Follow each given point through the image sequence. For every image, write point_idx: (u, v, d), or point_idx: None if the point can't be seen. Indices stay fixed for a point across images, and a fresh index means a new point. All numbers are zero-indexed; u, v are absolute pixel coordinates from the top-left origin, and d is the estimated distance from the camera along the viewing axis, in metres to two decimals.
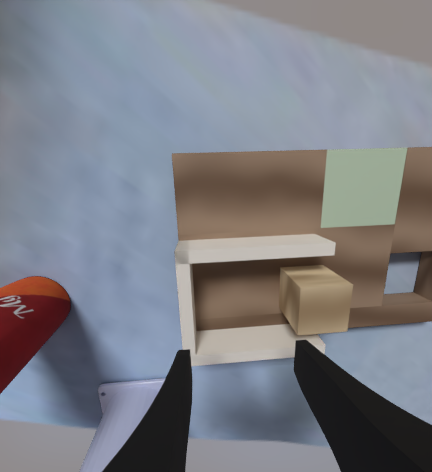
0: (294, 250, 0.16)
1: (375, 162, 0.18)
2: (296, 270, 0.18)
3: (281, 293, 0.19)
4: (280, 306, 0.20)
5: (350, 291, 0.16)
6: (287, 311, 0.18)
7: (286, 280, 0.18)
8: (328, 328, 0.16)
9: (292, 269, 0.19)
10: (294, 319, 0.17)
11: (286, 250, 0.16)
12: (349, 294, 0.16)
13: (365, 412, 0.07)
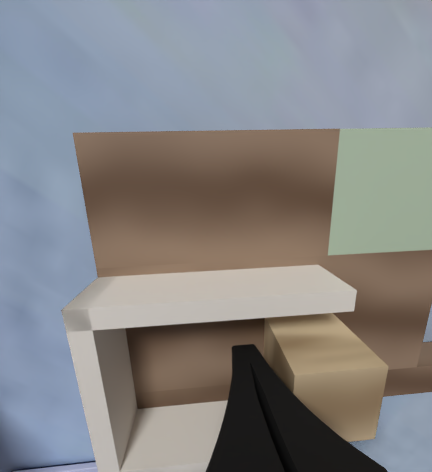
0: (283, 304, 0.09)
1: (418, 151, 0.11)
2: (289, 324, 0.11)
3: (266, 355, 0.12)
4: None
5: (383, 377, 0.09)
6: None
7: (272, 342, 0.11)
8: (342, 436, 0.09)
9: (283, 321, 0.12)
10: None
11: (269, 304, 0.09)
12: (380, 382, 0.09)
13: (280, 421, 0.07)
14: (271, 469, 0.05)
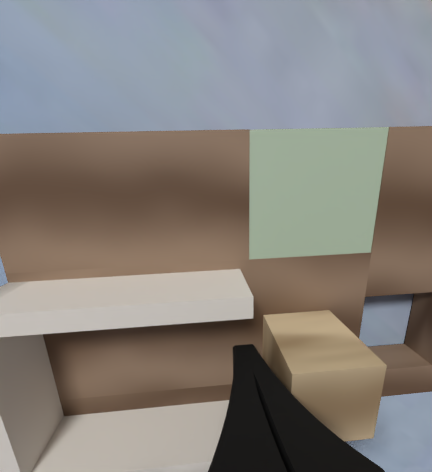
0: (176, 311, 0.09)
1: (335, 152, 0.10)
2: (287, 324, 0.11)
3: (264, 355, 0.12)
4: None
5: (381, 376, 0.09)
6: None
7: (271, 341, 0.11)
8: (340, 435, 0.09)
9: (281, 320, 0.12)
10: None
11: (161, 312, 0.08)
12: (378, 381, 0.09)
13: (278, 421, 0.07)
14: (273, 468, 0.05)
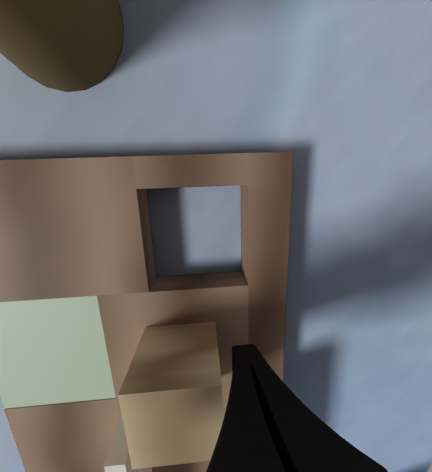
0: None
1: (4, 345, 0.12)
2: None
3: None
4: None
5: (133, 396, 0.08)
6: None
7: None
8: (214, 417, 0.09)
9: None
10: None
11: None
12: (139, 397, 0.08)
13: (280, 421, 0.07)
14: (271, 469, 0.05)
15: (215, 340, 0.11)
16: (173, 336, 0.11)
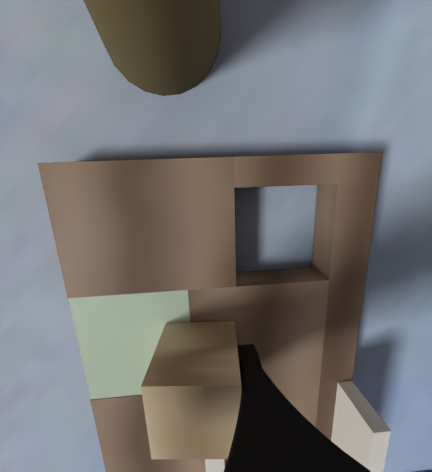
0: None
1: (97, 337, 0.12)
2: None
3: None
4: None
5: (155, 388, 0.08)
6: None
7: None
8: (232, 416, 0.09)
9: None
10: None
11: None
12: (160, 390, 0.08)
13: (268, 422, 0.07)
14: (290, 467, 0.05)
15: (234, 340, 0.11)
16: (193, 333, 0.11)
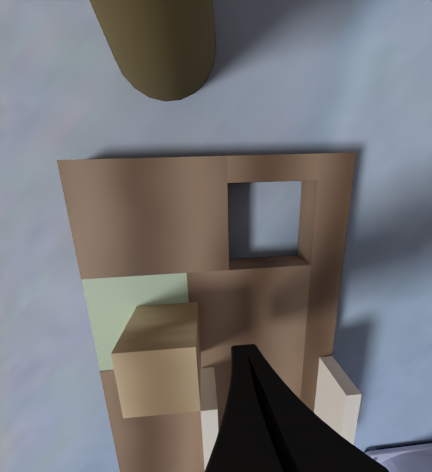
0: (210, 449, 0.13)
1: (106, 315, 0.14)
2: None
3: None
4: None
5: (123, 354, 0.10)
6: None
7: None
8: (190, 374, 0.10)
9: None
10: None
11: None
12: (128, 356, 0.10)
13: (282, 421, 0.07)
14: (270, 469, 0.05)
15: (195, 315, 0.13)
16: (160, 312, 0.13)
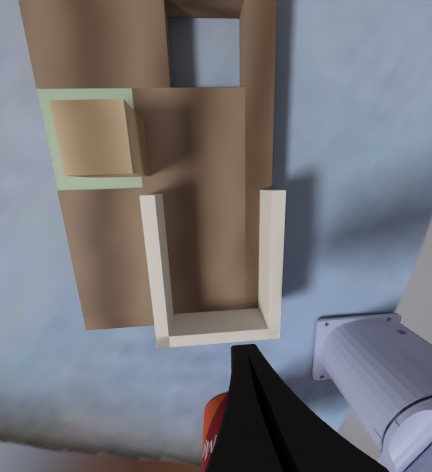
0: (151, 241, 0.15)
1: None
2: None
3: (125, 176, 0.16)
4: None
5: (60, 102, 0.12)
6: (131, 175, 0.15)
7: (95, 177, 0.15)
8: (120, 129, 0.12)
9: None
10: (121, 174, 0.13)
11: (151, 249, 0.15)
12: (64, 104, 0.12)
13: (282, 421, 0.07)
14: (270, 469, 0.05)
15: None
16: None
